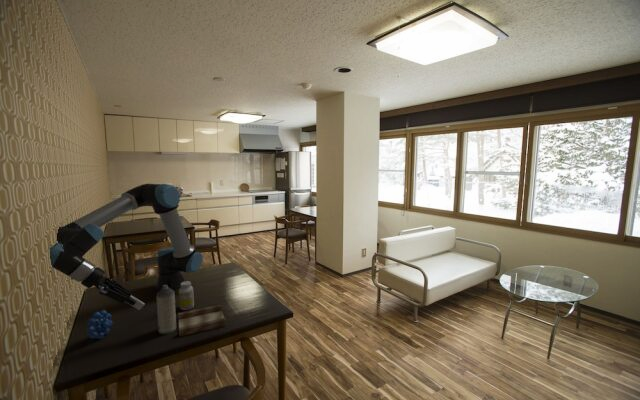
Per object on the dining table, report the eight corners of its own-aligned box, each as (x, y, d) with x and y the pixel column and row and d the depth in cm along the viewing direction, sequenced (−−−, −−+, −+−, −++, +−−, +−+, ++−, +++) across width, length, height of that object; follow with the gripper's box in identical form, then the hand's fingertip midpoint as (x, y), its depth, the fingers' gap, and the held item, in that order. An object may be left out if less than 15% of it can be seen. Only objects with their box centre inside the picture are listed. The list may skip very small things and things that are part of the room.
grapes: (98, 347, 112) (96, 318, 111) (82, 346, 113) (80, 317, 112) (121, 330, 124) (119, 304, 123) (107, 330, 124) (104, 303, 123)
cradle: (179, 336, 120) (178, 330, 119) (178, 318, 134) (178, 313, 134) (226, 325, 128) (226, 319, 128) (221, 309, 142) (221, 304, 142)
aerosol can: (172, 324, 129) (170, 281, 127) (179, 329, 125) (176, 285, 123) (156, 330, 124) (153, 285, 122) (162, 336, 120) (159, 290, 118)
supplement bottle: (182, 304, 148) (181, 280, 147) (196, 304, 148) (194, 280, 147) (177, 310, 141) (176, 285, 140) (191, 310, 142) (190, 285, 140)
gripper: (84, 276, 115) (136, 307, 124) (74, 288, 103) (132, 321, 113) (100, 261, 117) (150, 293, 126) (92, 272, 105) (147, 306, 114)
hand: (142, 306), depth 119 cm, fingers closed
